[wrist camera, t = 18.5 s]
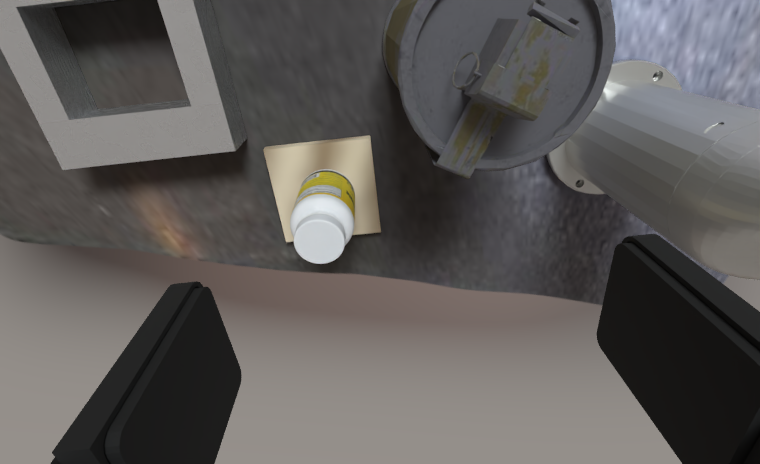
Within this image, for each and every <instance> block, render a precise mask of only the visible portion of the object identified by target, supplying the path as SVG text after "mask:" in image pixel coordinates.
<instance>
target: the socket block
mask: <svg viewBox="0 0 760 464" xmlns="http://www.w3.org/2000/svg"><path fill="white" fill-rule="evenodd" d="M107 1H115V0H0V48H1V50H2V52H3V54H4V56H5V58H6V60H7V62H8V64H9V66H10V68H11V70H12V72H13V73H14V75H15V77H16V79H17V81H18V83H19V85H20V87H21V89H22V91H23V93H24V95H25V97H26V99H27V101H28V103H29V105H30V107H31V109H32V111H33V113H34V115H35V117H36V119H37V121H38V122H39V124H40V126H41V128H42V130H43V132H44V134H45V136H46V138H47V140H48V142H49V144H50V146H51V148H52V150H53V152H54V154H55V156H56V158H57V160H58V162H59V164H60V166H61V168H62V170H67V169H76V168H85V167H94V166H103V165H112V164H122V163H131V162H140V161H149V160H158V159H167V158H177V157H186V156H195V155H204V154H213V153H222V152H231V151H236V150H237V149H238V148H239V147H240V146H241V145H242V143H243V142H244V141H245V140H246V139H247V135H246V131H245V127H244V123H243V120H242V116H241V112H240V108H239V104H238V101H237V97H236V93H235V89H234V85H233V82H232V78H231V74H230V70H229V66H228V63H227V59H226V55H225V51H224V48H223V44H222V40H221V36H220V32H219V29H218V25H217V21H216V17H215V13H214V10H213V6H212V2H211V0H157V1H158V4H159V7H160V10H161V13H162V16H163V20H164V23H165V26H166V29H167V32H168V35H169V38H170V41H171V45H172V48H173V51H174V54H175V57H176V60H177V63H178V66H179V70H180V73H181V76H182V79H183V82H184V85H185V88H186V91H187V95H188V98H189V99H187V100H178V101H169V102H160V103H151V104H142V105H133V106H124V107H115V108H106V109H98V108H97V106H96V104H95V102H94V99H93V97H92V95H91V92H90V90H89V88H88V85H87V83H86V81H85V78H84V76H83V74H82V71H81V69H80V67H79V64H78V62H77V60H76V58H75V55H74V53H73V51H72V48H71V46H70V44H69V41H68V39H67V37H66V34H65V32H64V30H63V27H62V25H61V23H60V20H59V18H58V16H57V13H56V11H55V9H54V8H55V7H63V6H72V5H81V4H89V3H98V2H107Z"/></svg>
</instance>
